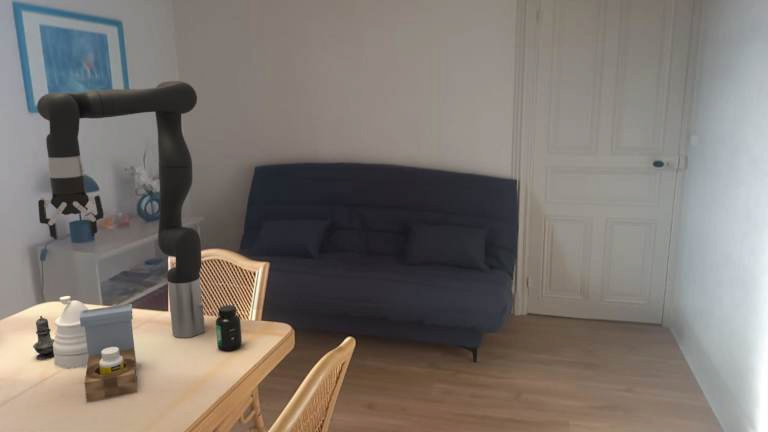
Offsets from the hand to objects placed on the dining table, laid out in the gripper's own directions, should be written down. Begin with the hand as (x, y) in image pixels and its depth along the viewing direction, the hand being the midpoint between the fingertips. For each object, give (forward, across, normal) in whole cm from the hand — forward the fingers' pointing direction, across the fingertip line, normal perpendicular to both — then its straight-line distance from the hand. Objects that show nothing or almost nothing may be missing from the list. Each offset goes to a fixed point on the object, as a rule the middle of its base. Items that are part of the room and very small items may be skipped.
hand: (75, 236), depth 145 cm
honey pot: (+36, -3, +7) cm, 37 cm away
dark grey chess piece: (+36, -12, +12) cm, 40 cm away
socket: (+36, +5, -12) cm, 39 cm away
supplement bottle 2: (+36, +36, -4) cm, 51 cm away
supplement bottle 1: (+36, +6, -14) cm, 39 cm away
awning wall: (+36, +5, -6) cm, 37 cm away
